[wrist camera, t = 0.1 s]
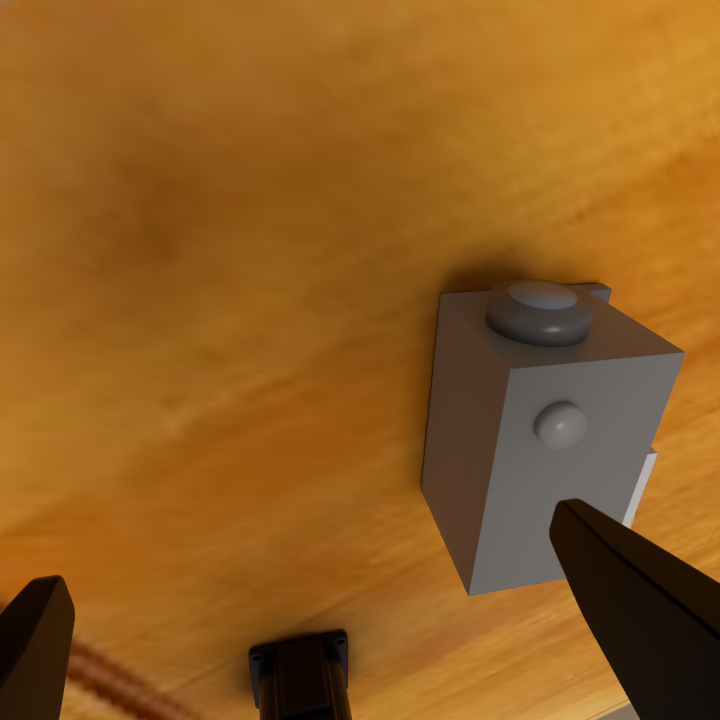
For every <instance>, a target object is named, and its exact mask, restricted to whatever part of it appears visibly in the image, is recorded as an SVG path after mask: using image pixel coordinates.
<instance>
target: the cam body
mask: <svg viewBox="0 0 720 720" xmlns="http://www.w3.org/2000/svg"><path fill="white" fill-rule="evenodd" d="M611 290H612V289H611V288H609V287H607V286H606V285H604V284H602V283H598V284H582V285H565V284H561V283H557V282H552V281H545V280H537V279H514V280H507V281H503V282H500V283H497V284H495V285H494V286H492V287H491V289H490V291H475V292H460V293H445V294H441V298H440V308H439V318H438V328H437V337H436V347H435V357H434V367H433V377H432V387H431V397H430V407H429V417H428V427H427V437H426V447H425V457H424V467H423V477H422V487H421V491H422V493H423V495H424V497H425V500H426V502H427V504H428V506H429V509H430V511H431V513H432V515H433V518H434V520H435V522H436V524H437V527H438V529H439V531H440V533H441V536H442V538H443V540H444V542H445V545H446V547H447V549H448V551H449V554H450V556H451V558H452V560H453V562H454V565H455V567H456V569H457V571H458V574H459V576H460V578H461V580H462V583H463V585H464V587H465V589H466V592H467V594H468V596H473V595H478V594H484V593H489V592H494V591H500V590H505V589H511V588H516V587H521V586H527V585H532V584H538V583H543V582H549V581H554V580H559V579H565V578H566V576H565V574H564V572H563V569H562V567H561V565H560V562H559V560H558V558H557V555H556V553H555V551H554V549H553V546H552V544H551V541H550V538H549V528H550V524H551V521H552V517H553V513H554V510H555V506H556V504H557V503H558V502H559V501H561V500H566V499H573V498H578V499H581V500H583V501H585V502H586V503H588V504H590V505H591V506H593V507H595V508H596V509H598V510H599V511H601V512H603V513H604V514H606V515H608V516H609V517H611V518H613V519H614V520H616V521H618V522H619V523H621V524H622V523H623V520H624V517H625V514H626V512H627V509H628V506H629V504H630V501H631V498H632V496H633V493H634V490H635V487H636V485H637V482H638V479H639V477H640V474H641V471H642V468H643V466H644V463H645V460H646V458H647V455H648V452H649V449H650V447H651V444H652V441H653V439H654V436H655V433H656V430H657V428H658V425H659V422H660V420H661V417H662V414H663V412H664V409H665V406H666V403H667V401H668V398H669V395H670V393H671V390H672V387H673V384H674V382H675V379H676V376H677V374H678V371H679V368H680V365H681V363H682V360H683V357H684V355H685V352H684V351H683V350H681V349H679V348H678V347H676V346H675V345H673V344H671V343H670V342H668V341H667V340H665V339H663V338H662V337H660V336H659V335H657V334H655V333H654V332H652V331H651V330H649V329H647V328H646V327H644V326H643V325H641V324H639V323H638V322H636V321H635V320H633V319H632V318H630V317H628V316H627V315H625V314H624V313H622V312H620V311H619V310H617V309H616V308H614V307H612V306H611V305H609V304H608V301H609V298H610V294H611Z"/></svg>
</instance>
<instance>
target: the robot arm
mask: <svg viewBox="0 0 720 720" xmlns="http://www.w3.org/2000/svg"><path fill="white" fill-rule="evenodd" d="M549 538H550V541H551V544H552V546H553V549H554V551H555V553H556V555H557V558H558V560H559V562H560V565H561V567H562V569H563V572H564V574H565V576H566V578H567V581H568V583H569V585H570V588H571V590H572V592H573V595H574V597H575V599H576V602H577V604H578V606H579V608H580V610H581V612H582V614H583V616H584V618H585V620H586V622H587V624H588V626H589V628H590V630H591V631H592V633H593V635H594V637H595V639H596V640H597V642H598V644H599V646H600V648H601V649H602V651H603V653H604V655H605V657H606V658H607V660H608V662H609V664H610V666H611V667H612V669H613V671H614V673H615V675H616V677H617V678H618V680H619V682H620V684H621V686H622V687H623V689H624V691H625V693H626V695H627V696H628V698H629V700H630V702H631V704H632V705H633V707H634V709H635V711H636V713H637V714H638V716H639V718H640V720H720V583H719V582H717V581H715V580H714V579H712V578H710V577H709V576H707V575H705V574H704V573H702V572H700V571H699V570H697V569H695V568H694V567H692V566H691V565H689V564H687V563H686V562H684V561H682V560H681V559H679V558H677V557H676V556H674V555H672V554H671V553H669V552H667V551H666V550H664V549H662V548H661V547H659V546H657V545H656V544H654V543H652V542H651V541H649V540H647V539H646V538H644V537H643V536H641V535H639V534H638V533H636V532H634V531H633V530H631V529H629V528H628V527H626V526H624V525H623V524H621V523H619V522H618V521H616V520H614V519H613V518H611V517H609V516H608V515H606V514H604V513H603V512H601V511H599V510H598V509H596V508H595V507H593V506H591V505H590V504H588V503H586V502H585V501H583V500H581V499H578V498H573V499H566V500H561V501H559V502H558V503H557V504H556V506H555V510H554V513H553V517H552V521H551V524H550V528H549ZM74 621H75V609H74V604H73V602H72V599H71V596H70V594H69V591H68V589H67V586H66V583H65V581H64V579H63V577H61V576H60V575H52V576H46V577H39V578H35V579H33V580H32V581H30V582H29V583H28V584H27V585H26V586H25V587H24V588H23V589H22V590H21V591H20V592H19V594H18V595H17V596H16V597H15V598H14V599H13V600H12V601H11V602H10V603H9V604H8V605H7V606H6V608H5V609H4V610H3V611H2V612H1V613H0V720H59V716H60V711H61V705H62V699H63V693H64V686H65V680H66V673H67V667H68V660H69V654H70V647H71V641H72V634H73V628H74ZM249 665H250V672H251V679H252V685H253V692H254V699H255V705H256V708H257V709H259V710H260V720H352V716H351V711H350V705H349V700H348V694H347V688H348V637H347V633H345V632H336V633H331V634H326V635H320V636H315V637H310V638H304V639H299V640H294V641H289V642H283V643H278V644H273V645H267V646H262V647H257V648H253V649H251V650H250V651H249Z"/></svg>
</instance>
